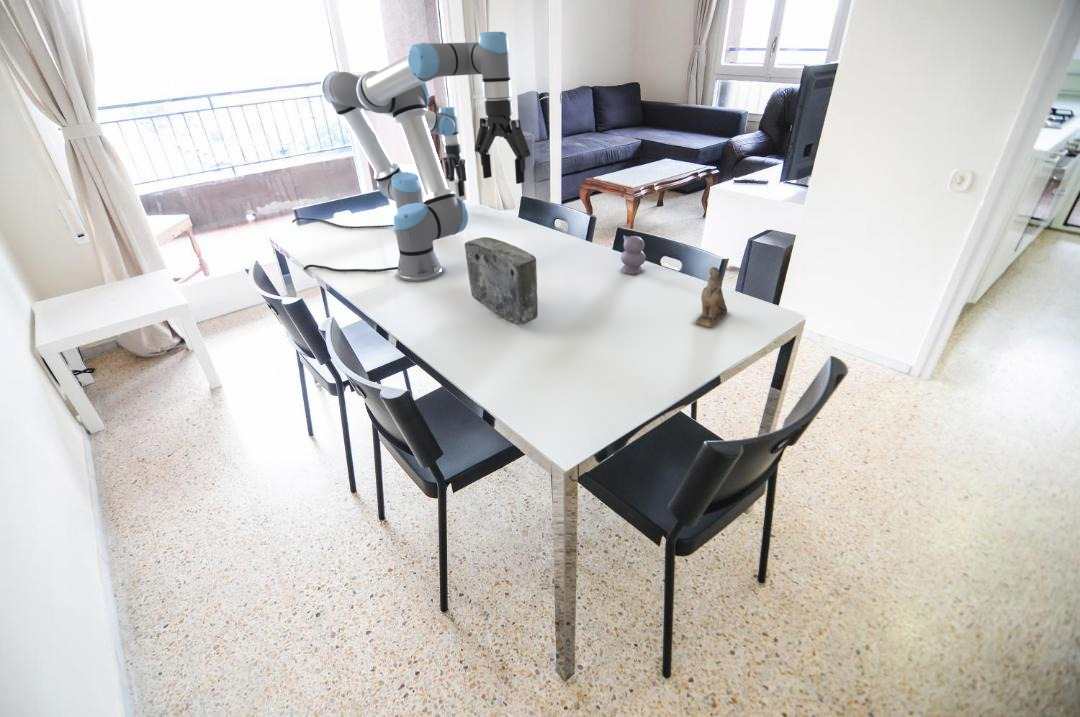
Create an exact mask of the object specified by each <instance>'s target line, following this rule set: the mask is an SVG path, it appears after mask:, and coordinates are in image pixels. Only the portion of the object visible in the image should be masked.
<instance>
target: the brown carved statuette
mask: <svg viewBox="0 0 1080 717" xmlns="http://www.w3.org/2000/svg"><path fill="white" fill-rule="evenodd" d="M708 273H709V275H710V276H709V278H708V279H707V280H708V281H707V284H706V286H705V287H704V288H703V290H702V292H701V297H700V298H701V309H702V312H701V315H700V316H699V317H698V318H697V319H696V321H695V324H696V325H699V326H703V327H705V328H712V327H714V326H715V325H716V324H717V323H719V321H721V320H722V319H723V318H725V317H726V316H727V315H728V307H727V304H726V301H725V298H724V293H723V290H722V287H723V281H722V279H721V278H720V270H719V269H718V268H717V267H715V266H712V267H711V268H710V269H709V270H708Z"/></svg>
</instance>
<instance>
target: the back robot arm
mask: <svg viewBox="0 0 1080 717" xmlns="http://www.w3.org/2000/svg"><path fill="white" fill-rule="evenodd" d="M360 78H361V77H360V76H357V75H356V74H353V73H351V72H348V71H337V70H335V71H331V72H328V73H326V74H325V75H324V76H323V78H322V79H321V83H320V91H321V94H322V96H323V98H324V99H325V100H326V102H328V103H329V104H331V106H332V108H333V109H334V111H335V113H336V115H337V116H339V117H342V118H343V119H344V121H345V122H346V124H347V126H348V128H349V129H350V131H351V133H352V135H353V136H354V138H355V140H356V142H357V143H358V145H359V147H360V148H361V150H362V152H363V153H364V155H365V157H366V159H367V160H368V162H369V164H370V165H371V167H372V169H373V171H374V176H373V178H374V180H375V182H376V183H377V185H376V186H377V189H378V191H379V192H380V193H381V195H382V196H384V198H386V199H389V200H391V201H393V202H395V207H396V210H397V209H398V208H400V207H402V206H404V205H407V204H413V203H423V200H424V198H423V192H422V191H423V190H422V186H421V183H420V180H419V177H418V174H417V173H413V172H407V171H406V172H405V171H403V172H402V170H401V168H400V167H399V165H398V164H397V163H394V162H393V161H392V159H391V157H390V155H389V153H388V152H387V150H386V147H385V146H384V145H383V143H382V140H381V139H380V137H379V135H378V134H377V131H376V130H375V128H374V126H373V124H372V122H371V121H370V119H369V117H368V115H367V114H366V111H368V112H370V110H368V109H367V108H366V107H364V106H363V104H362V103H361V102H360V100H359V98H358V96H357V91H356V88H357V83H358V81H359V79H360ZM383 114H384V115H387V116H388V117H391V118H393V116H392V113H383ZM425 120H426V123H427V126H428V129H429V132H430V134H431V135H432V134H433V135H439V136H442V142H443V144H444V145H443V150H444V154H446V156H445V157H442V161H443V165H444V173H445V180H448V182H451V181H455V180H456V178H455V173H456V177H457V180H458V181H459V182H458V190H459V197H461V196H464V182H467V173H466V159H465V158H461V155H460V154H461V153H462V148H461V144H460V141H461V140H460V134H459V133H460V132H459V123H458V115H457V110H456V107H454V106H443V107H439V108H438V112H434V111H432V110H430V109H427V113H426V116H425ZM298 220H306V221H316V222H317V221H318V222H322V223H326V224H330V225H332V226H335V227H339V228H345V229H369V228H370V229H374V228H391V227H392V228H393V227H394V224H386V225H361V226H352V225H351V226H349V225H341V224H337V223H334V222H331V221H327V220H324V219H320V218H309V217H297V218H294V219H293V220H292V221H291V223H295V222H296V221H298Z"/></svg>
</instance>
